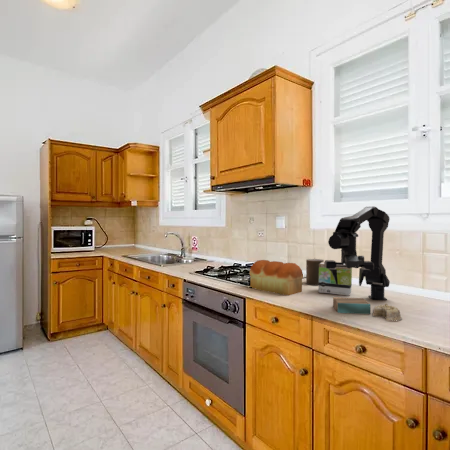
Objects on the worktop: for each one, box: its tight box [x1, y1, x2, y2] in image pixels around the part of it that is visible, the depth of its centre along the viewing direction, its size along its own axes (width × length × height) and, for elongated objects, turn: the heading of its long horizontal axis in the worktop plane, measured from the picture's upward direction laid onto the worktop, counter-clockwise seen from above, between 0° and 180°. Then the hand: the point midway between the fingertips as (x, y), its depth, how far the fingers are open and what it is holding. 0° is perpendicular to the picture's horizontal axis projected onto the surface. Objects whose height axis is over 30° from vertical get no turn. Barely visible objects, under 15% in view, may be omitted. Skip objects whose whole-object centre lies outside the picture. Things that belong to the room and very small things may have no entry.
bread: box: [249, 259, 304, 296], centre depth 166 cm, size 25×12×15 cm, turn 45°
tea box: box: [317, 261, 353, 297], centre depth 161 cm, size 15×10×15 cm
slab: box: [332, 296, 371, 315], centre depth 129 cm, size 4×12×10 cm
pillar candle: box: [305, 258, 325, 286], centre depth 183 cm, size 10×10×15 cm
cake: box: [371, 303, 403, 322], centre depth 119 cm, size 10×10×5 cm
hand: (348, 285), depth 133 cm, fingers open, 9 cm apart
